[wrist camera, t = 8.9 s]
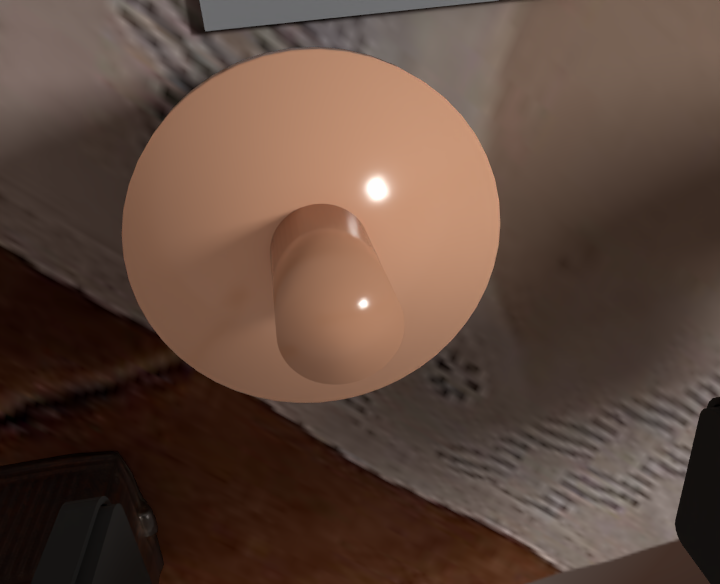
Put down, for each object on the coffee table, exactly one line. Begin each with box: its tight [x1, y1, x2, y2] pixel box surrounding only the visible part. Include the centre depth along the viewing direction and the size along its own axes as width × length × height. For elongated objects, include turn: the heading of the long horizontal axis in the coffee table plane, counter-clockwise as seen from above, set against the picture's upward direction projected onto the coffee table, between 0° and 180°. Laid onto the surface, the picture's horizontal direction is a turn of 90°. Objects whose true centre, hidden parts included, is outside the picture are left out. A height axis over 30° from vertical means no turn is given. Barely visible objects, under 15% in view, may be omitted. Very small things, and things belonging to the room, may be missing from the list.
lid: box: [122, 47, 500, 403], centre depth 18 cm, size 12×12×6 cm
